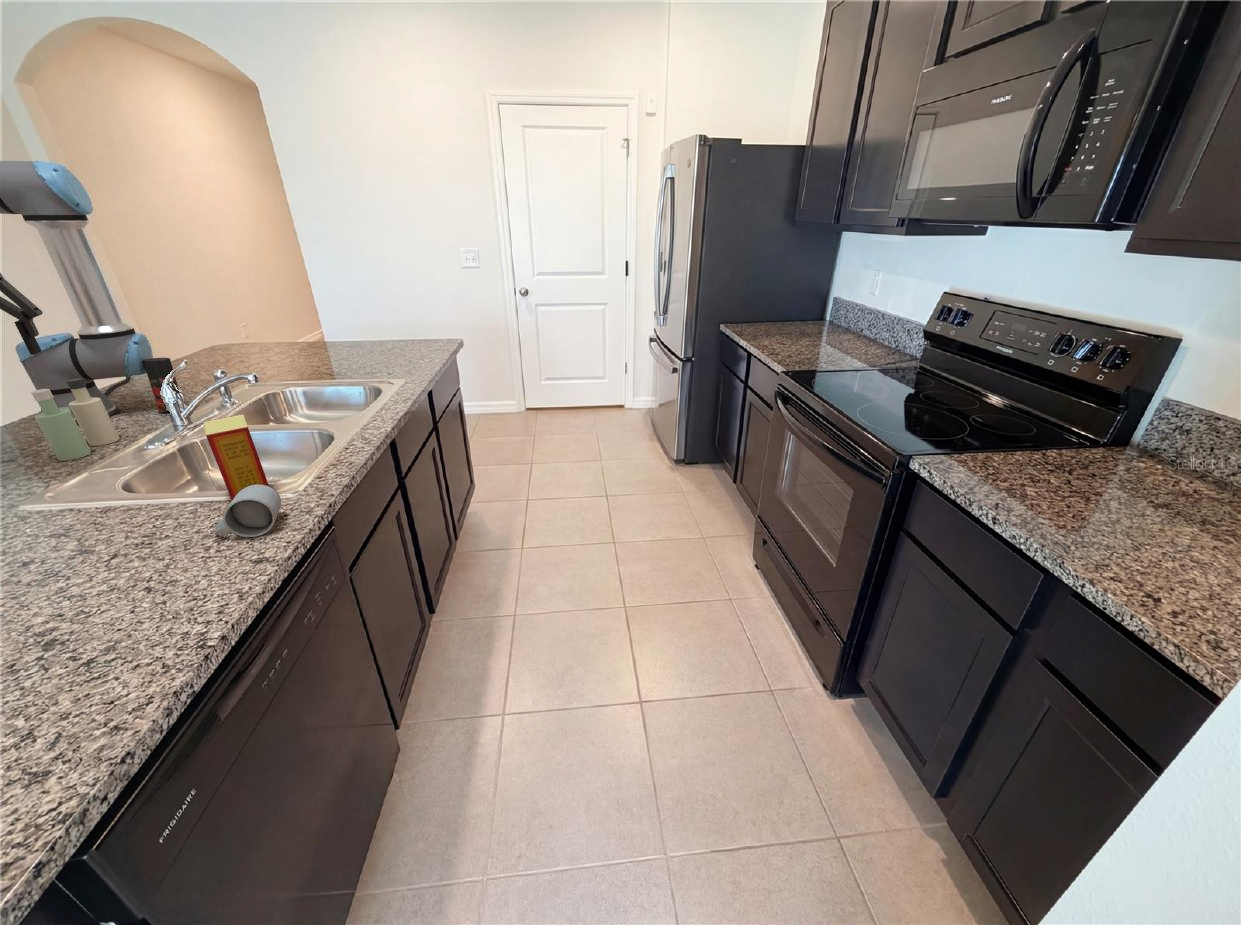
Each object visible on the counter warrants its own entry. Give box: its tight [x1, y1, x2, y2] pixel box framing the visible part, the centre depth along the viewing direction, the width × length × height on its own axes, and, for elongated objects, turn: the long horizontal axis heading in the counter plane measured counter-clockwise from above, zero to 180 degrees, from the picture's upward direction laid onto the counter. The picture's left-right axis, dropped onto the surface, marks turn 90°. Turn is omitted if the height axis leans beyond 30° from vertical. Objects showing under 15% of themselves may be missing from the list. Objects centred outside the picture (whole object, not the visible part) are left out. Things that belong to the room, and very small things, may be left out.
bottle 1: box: [30, 389, 92, 462], centre depth 119 cm, size 6×6×16 cm
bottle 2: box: [66, 378, 120, 447], centre depth 127 cm, size 6×6×16 cm
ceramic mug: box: [213, 485, 282, 538], centre depth 92 cm, size 11×8×8 cm
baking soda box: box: [203, 413, 270, 501], centre depth 102 cm, size 10×6×16 cm
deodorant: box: [143, 357, 180, 413], centre depth 149 cm, size 6×6×15 cm
